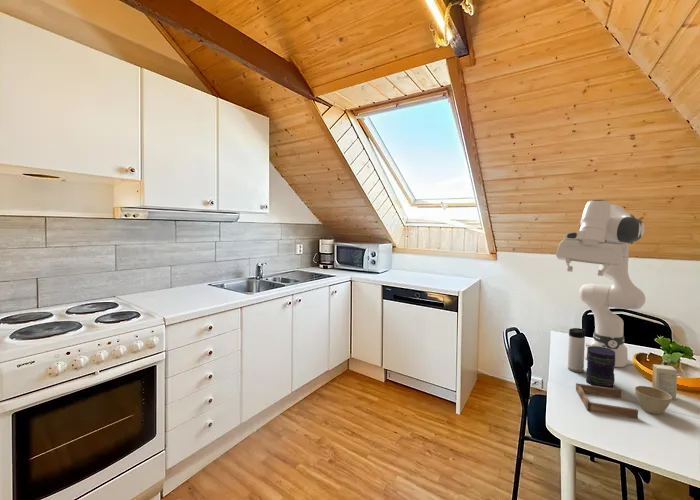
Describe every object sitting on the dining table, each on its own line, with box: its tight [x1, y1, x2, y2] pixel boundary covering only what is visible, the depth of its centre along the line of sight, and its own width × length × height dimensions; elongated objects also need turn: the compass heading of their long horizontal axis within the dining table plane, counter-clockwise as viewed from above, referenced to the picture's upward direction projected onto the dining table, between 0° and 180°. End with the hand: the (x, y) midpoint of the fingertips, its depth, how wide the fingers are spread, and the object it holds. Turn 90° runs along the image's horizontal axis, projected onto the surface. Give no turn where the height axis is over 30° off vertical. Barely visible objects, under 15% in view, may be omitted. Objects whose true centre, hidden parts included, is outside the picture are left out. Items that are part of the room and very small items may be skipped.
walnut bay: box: [575, 382, 639, 420], centre depth 127 cm, size 16×15×3 cm
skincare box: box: [651, 364, 678, 401], centre depth 130 cm, size 6×4×12 cm
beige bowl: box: [634, 385, 672, 415], centre depth 121 cm, size 10×10×7 cm
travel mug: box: [567, 327, 587, 373], centre depth 155 cm, size 6×7×20 cm
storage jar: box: [585, 345, 616, 389], centre depth 141 cm, size 10×10×18 cm
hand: (584, 273), depth 122 cm, fingers open, 8 cm apart
